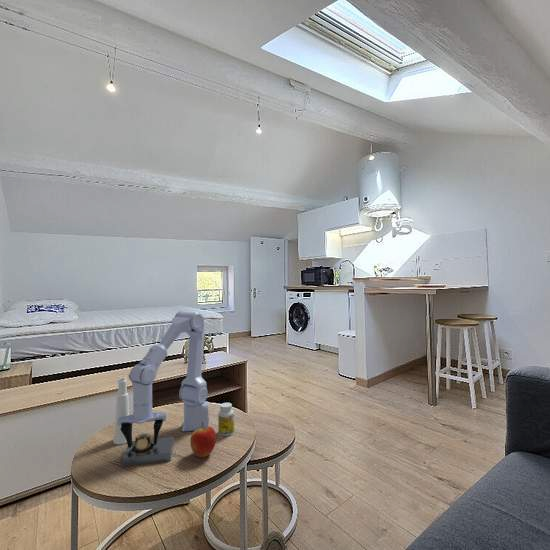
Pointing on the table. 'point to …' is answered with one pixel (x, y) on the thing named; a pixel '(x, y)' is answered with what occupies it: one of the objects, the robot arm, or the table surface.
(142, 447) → the bushing
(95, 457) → the table surface
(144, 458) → the plate
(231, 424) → the supplement bottle
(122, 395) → the cosmetic bottle
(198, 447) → the apple
